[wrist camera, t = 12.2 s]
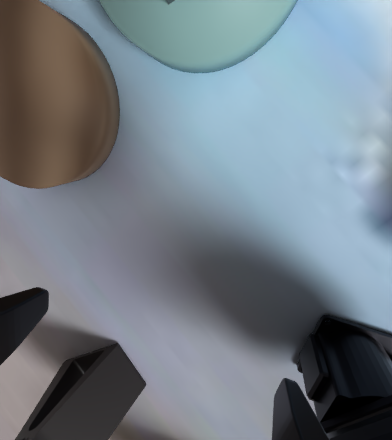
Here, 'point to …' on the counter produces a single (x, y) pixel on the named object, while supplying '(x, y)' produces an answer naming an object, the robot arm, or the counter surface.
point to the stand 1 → (52, 98)
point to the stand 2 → (199, 29)
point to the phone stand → (86, 398)
